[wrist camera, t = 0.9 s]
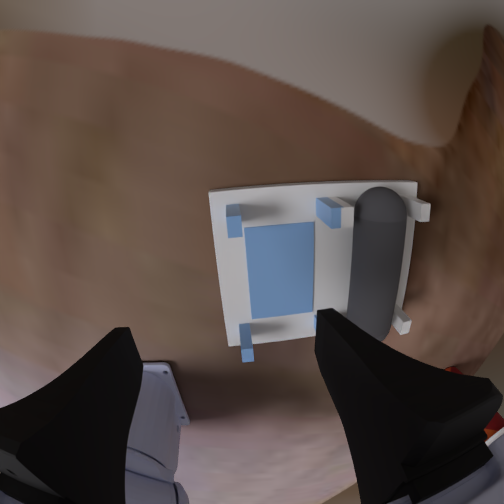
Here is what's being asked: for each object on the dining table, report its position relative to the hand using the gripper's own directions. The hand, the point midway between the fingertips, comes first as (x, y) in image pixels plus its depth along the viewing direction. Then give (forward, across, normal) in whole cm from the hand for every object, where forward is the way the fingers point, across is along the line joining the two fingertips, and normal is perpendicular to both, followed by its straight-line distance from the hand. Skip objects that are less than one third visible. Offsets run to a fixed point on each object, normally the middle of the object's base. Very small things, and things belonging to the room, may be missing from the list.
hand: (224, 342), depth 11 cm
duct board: (+10, -7, +2) cm, 13 cm away
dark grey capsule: (+9, -10, +2) cm, 14 cm away
